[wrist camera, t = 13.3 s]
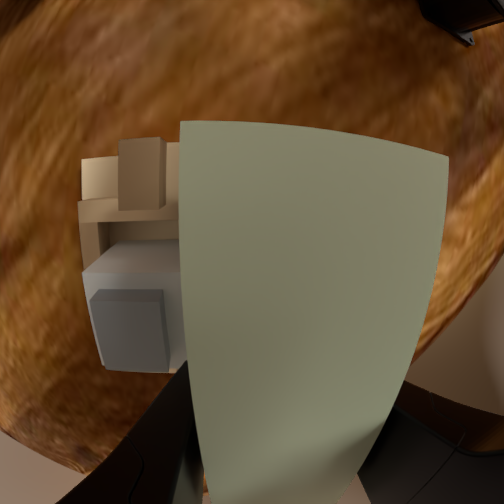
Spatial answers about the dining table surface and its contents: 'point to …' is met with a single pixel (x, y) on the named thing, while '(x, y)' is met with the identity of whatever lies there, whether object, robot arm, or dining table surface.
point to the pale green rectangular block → (300, 298)
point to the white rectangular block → (137, 306)
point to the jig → (129, 197)
